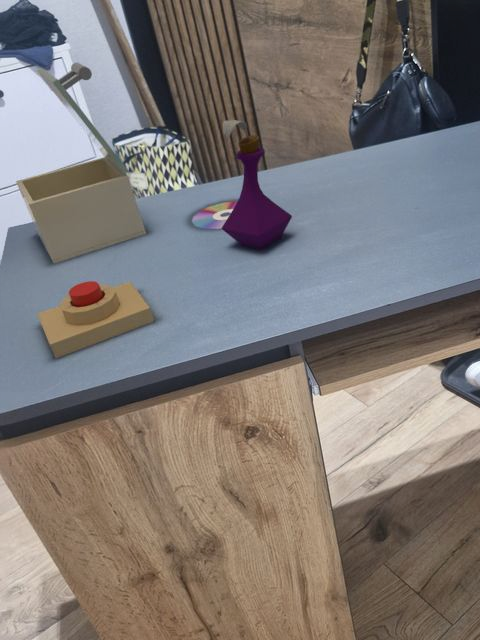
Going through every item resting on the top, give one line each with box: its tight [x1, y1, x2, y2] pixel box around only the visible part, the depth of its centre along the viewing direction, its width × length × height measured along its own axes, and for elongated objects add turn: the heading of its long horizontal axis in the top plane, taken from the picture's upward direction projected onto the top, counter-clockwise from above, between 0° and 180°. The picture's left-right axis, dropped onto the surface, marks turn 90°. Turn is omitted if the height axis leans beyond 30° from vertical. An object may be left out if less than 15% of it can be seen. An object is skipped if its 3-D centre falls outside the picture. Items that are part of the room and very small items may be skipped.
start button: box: [68, 280, 104, 307], centre depth 78 cm, size 4×4×2 cm
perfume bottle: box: [221, 119, 293, 250], centre depth 90 cm, size 8×8×18 cm
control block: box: [37, 281, 155, 359], centre depth 79 cm, size 12×9×4 cm
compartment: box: [15, 156, 147, 264], centre depth 102 cm, size 15×14×10 cm
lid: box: [36, 62, 129, 175], centre depth 97 cm, size 15×14×6 cm
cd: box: [191, 200, 238, 230], centre depth 105 cm, size 11×11×1 cm
